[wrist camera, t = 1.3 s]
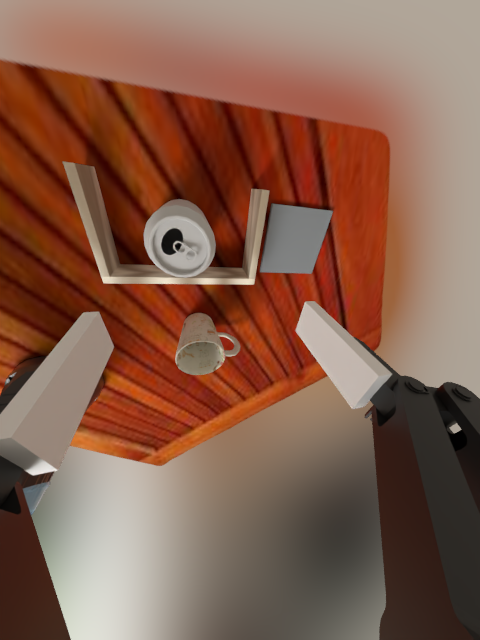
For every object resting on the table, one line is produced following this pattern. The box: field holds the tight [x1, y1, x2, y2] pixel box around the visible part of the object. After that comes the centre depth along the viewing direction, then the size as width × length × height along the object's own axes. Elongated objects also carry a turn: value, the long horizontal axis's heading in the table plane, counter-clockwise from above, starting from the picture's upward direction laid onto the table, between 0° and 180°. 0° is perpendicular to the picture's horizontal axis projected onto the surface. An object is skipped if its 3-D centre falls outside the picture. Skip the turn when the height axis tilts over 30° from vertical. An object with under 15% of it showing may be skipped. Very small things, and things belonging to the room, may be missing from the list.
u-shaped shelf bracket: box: [62, 161, 269, 285], centre depth 27 cm, size 22×13×5 cm, turn 83°
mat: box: [260, 203, 333, 273], centre depth 33 cm, size 11×11×1 cm
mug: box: [175, 313, 240, 375], centre depth 36 cm, size 8×13×10 cm, turn 71°
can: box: [144, 199, 216, 278], centre depth 24 cm, size 8×8×12 cm
